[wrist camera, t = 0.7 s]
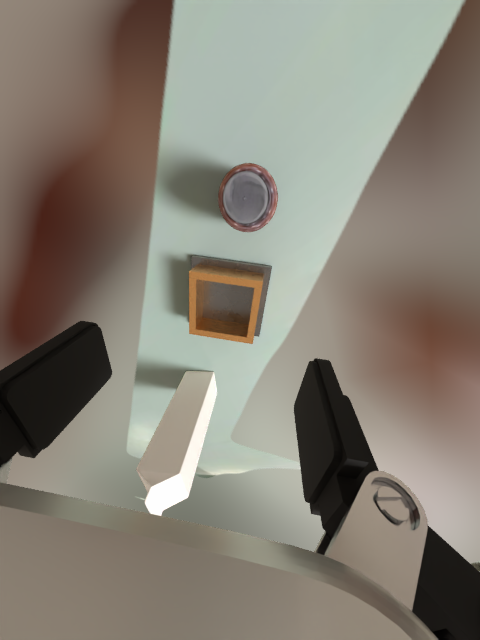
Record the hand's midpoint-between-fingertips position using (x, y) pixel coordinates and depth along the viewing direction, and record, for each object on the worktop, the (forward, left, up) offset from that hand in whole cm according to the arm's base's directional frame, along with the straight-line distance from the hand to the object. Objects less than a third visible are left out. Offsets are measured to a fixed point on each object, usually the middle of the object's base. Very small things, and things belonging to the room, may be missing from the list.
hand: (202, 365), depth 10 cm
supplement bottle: (-7, 0, -25) cm, 26 cm away
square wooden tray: (+7, -2, -25) cm, 26 cm away
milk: (+27, -6, -25) cm, 37 cm away
